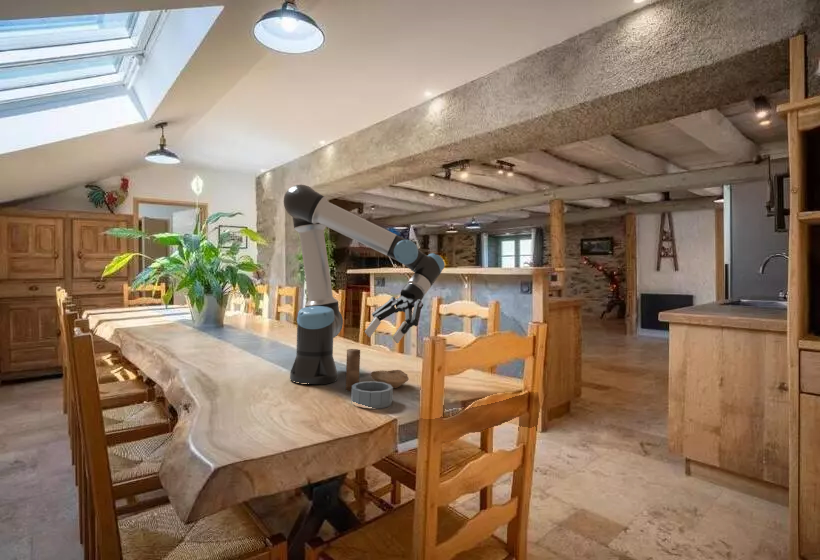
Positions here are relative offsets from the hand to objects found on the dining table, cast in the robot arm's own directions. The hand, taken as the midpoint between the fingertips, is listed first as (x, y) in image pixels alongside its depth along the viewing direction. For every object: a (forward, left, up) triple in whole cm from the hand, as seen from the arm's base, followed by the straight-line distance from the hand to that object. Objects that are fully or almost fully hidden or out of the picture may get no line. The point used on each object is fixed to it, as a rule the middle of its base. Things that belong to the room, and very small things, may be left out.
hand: (380, 337), depth 139 cm
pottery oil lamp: (+4, 0, -15) cm, 16 cm away
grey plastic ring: (+5, -19, -15) cm, 25 cm away
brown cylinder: (-5, -9, -15) cm, 18 cm away
